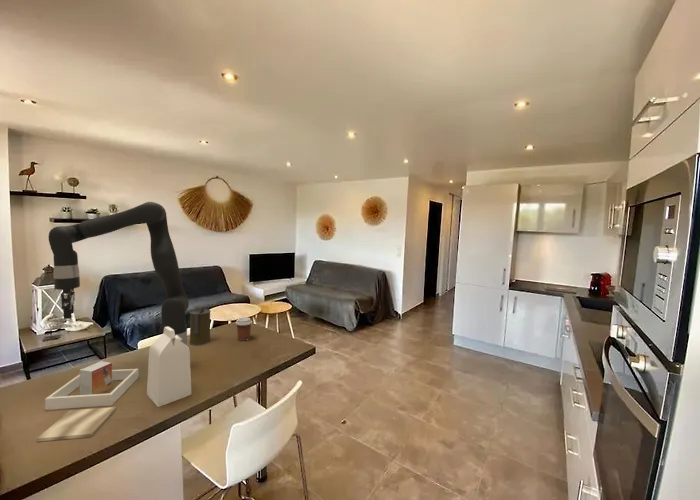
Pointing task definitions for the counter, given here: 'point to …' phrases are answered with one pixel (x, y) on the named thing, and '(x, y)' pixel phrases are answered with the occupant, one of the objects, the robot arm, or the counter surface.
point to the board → (77, 424)
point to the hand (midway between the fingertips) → (69, 315)
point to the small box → (96, 378)
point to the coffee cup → (243, 328)
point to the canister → (199, 326)
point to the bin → (64, 402)
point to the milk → (168, 369)
